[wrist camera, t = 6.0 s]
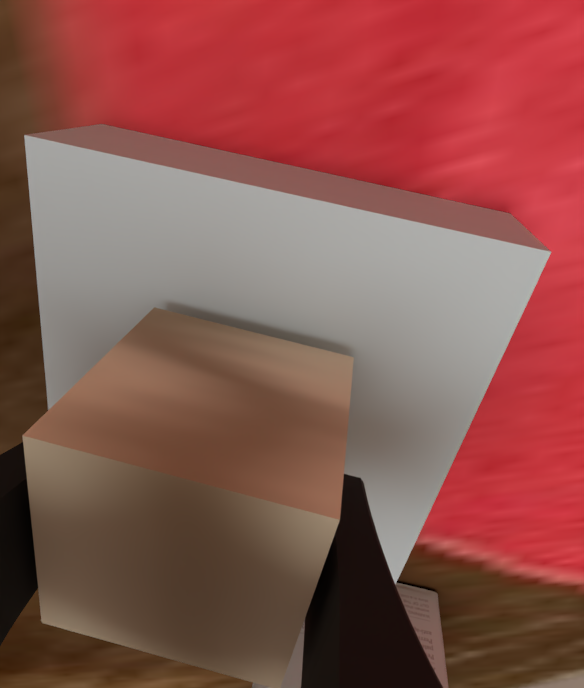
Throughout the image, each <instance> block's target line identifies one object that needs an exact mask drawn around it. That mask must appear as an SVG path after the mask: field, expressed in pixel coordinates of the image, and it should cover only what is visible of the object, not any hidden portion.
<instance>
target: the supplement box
mask: <svg viewBox="0 0 584 688" xmlns="http://www.w3.org/2000/svg"><path fill="white" fill-rule="evenodd" d="M395 585H396V588H397V590H398V593H399V595H400V598H401V600H402V602H403V605H404V607H405V610H406V612H407V614H408V617H409V619H410V621H411V623H412V626H413V628H414V630H415V632H416V634H417V637H418V639H419V641H420V643H421V645H422V647H423V649H424V651H425V653H426V655H427V657H428V659H429V661H430V663H431V665H432V667H433V669H434V671H435V673H436V675H437V677H438V679H439V681H440V683H441V684H442V686H443V688H448V680H447V671H446V663H445V654H444V645H443V637H442V629H441V621H440V613H439V604H438V594H437V593H436V592H434V591H430V590H426V589H423V588H418V587H414V586H410V585H405V584H401V583H396V584H395ZM304 629H305V619H304V622H303V625H302V628H301V631H300V634H299V636H298V639H297V642H296V645H295V648H294V650H293V653H292V656H291V659H290V662H289V664H288V667H287V670H286V673H285V676H284V678H283V681H282V684H281V687H280V688H301V679H302V663H303V646H304ZM252 688H271V687H268V686H264V685H261V684H257V683H253V686H252Z"/></svg>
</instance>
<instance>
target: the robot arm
mask: <svg viewBox="0 0 584 688" xmlns="http://www.w3.org/2000/svg"><path fill="white" fill-rule="evenodd" d="M37 588H38V581H37V572H36V562H35V552H34V543H33V533H32V523H31V514H30V504H29V494H28V485H27V475H26V465H25V455H24V446H23V442H22V443H21V444H19V445H17V446H15V447H14V448H12V449H10V450H8V451H7V452H5V453H3V454H1V455H0V645H1V644H2V642H3V640H4V638H5V637H6V635H7V633H8V632H9V630H10V628H11V627H12V625H13V624H14V622H15V621H16V619H17V618H18V616H19V615H20V613H21V611H22V610H23V609H24V607H25V606H26V604H27V603H28V601H29V600H30V598H31V597H32V596H33V594H34V593H35V591H36V590H37ZM301 688H443V686H442V684H441V683H440V681H439V679H438V677H437V675H436V673H435V671H434V669H433V667H432V665H431V663H430V661H429V659H428V657H427V655H426V653H425V651H424V649H423V647H422V645H421V643H420V641H419V639H418V637H417V634H416V632H415V630H414V628H413V626H412V623H411V621H410V619H409V617H408V614H407V612H406V610H405V607H404V605H403V602H402V600H401V598H400V595H399V593H398V590H397V588H396V585H395V583H394V580H393V578H392V575H391V572H390V569H389V567H388V564H387V561H386V558H385V555H384V553H383V550H382V547H381V544H380V541H379V538H378V535H377V532H376V528H375V525H374V522H373V518H372V515H371V511H370V507H369V504H368V500H367V495H366V491H365V486H364V482H363V481H362V479H361V478H359V477H355V476H351V475H347V474H344V478H343V490H342V501H341V513H340V521H339V524H338V527H337V529H336V532H335V535H334V538H333V541H332V544H331V546H330V549H329V552H328V555H327V558H326V560H325V563H324V566H323V569H322V572H321V574H320V577H319V580H318V583H317V586H316V589H315V591H314V594H313V597H312V600H311V603H310V605H309V608H308V611H307V614H306V617H305V629H304V646H303V663H302V679H301Z"/></svg>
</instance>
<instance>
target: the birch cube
mask: <svg viewBox="0 0 584 688" xmlns="http://www.w3.org/2000/svg"><path fill="white" fill-rule="evenodd" d="M353 361H354V357H351V356H347V355H343V354H339V353H335V352H331V351H327V350H323V349H319V348H315V347H311V346H307V345H303V344H299V343H295V342H291V341H287V340H283V339H279V338H275V337H271V336H267V335H263V334H259V333H255V332H251V331H247V330H243V329H239V328H235V327H231V326H227V325H223V324H219V323H215V322H211V321H207V320H203V319H199V318H195V317H191V316H187V315H183V314H179V313H175V312H171V311H167V310H163V309H159V308H155V307H154V308H153V309H152V310H151V311H150V312H149V313H148V314H147V315H146V316H145V317H144V318H143V319H142V320H141V321H140V322H139V323H138V324H137V325H136V326H135V327H134V328H133V329H132V330H131V331H129V332H128V333H127V334H126V335H125V336H124V337H123V338H122V339H121V340H120V341H119V342H118V343H117V344H116V345H115V346H114V347H113V348H112V349H111V350H110V351H109V352H108V353H107V354H106V355H105V356H104V357H103V358H102V359H101V360H100V361H99V362H98V363H97V364H96V365H95V366H94V367H92V368H91V369H90V370H89V371H88V372H87V373H86V374H85V375H84V376H83V377H82V378H81V379H80V380H79V381H78V382H77V383H76V384H75V385H74V386H73V387H72V388H71V389H70V390H69V391H68V392H67V393H66V394H65V395H64V396H63V397H62V398H61V399H60V400H59V401H58V402H57V403H55V404H54V405H53V406H52V407H51V408H50V409H49V410H48V411H47V412H46V413H45V414H44V415H43V416H42V417H41V418H40V419H39V420H38V421H37V422H36V423H35V424H34V425H33V426H32V427H31V428H30V429H29V430H28V431H27V432H26V433H25V434H24V435H23V446H24V455H25V465H26V475H27V485H28V494H29V504H30V514H31V523H32V533H33V543H34V552H35V562H36V572H37V581H38V591H39V601H40V610H41V620H42V623H45V624H48V625H52V626H55V627H59V628H62V629H66V630H70V631H73V632H77V633H80V634H84V635H87V636H91V637H94V638H98V639H101V640H105V641H108V642H112V643H116V644H119V645H123V646H126V647H130V648H133V649H137V650H140V651H144V652H147V653H151V654H154V655H158V656H161V657H165V658H169V659H172V660H176V661H179V662H183V663H186V664H190V665H193V666H197V667H200V668H204V669H207V670H211V671H215V672H218V673H222V674H225V675H229V676H232V677H236V678H239V679H243V680H246V681H250V682H253V683H257V684H261V685H264V686H268V687H271V688H280V687H281V684H282V681H283V678H284V676H285V673H286V670H287V667H288V664H289V662H290V659H291V656H292V653H293V650H294V648H295V645H296V642H297V639H298V636H299V634H300V631H301V628H302V625H303V622H304V619H305V617H306V614H307V611H308V608H309V605H310V603H311V600H312V597H313V594H314V591H315V589H316V586H317V583H318V580H319V577H320V574H321V572H322V569H323V566H324V563H325V560H326V558H327V555H328V552H329V549H330V546H331V544H332V541H333V538H334V535H335V532H336V529H337V527H338V524H339V521H340V513H341V501H342V490H343V478H344V466H345V455H346V443H347V431H348V419H349V408H350V396H351V384H352V373H353Z"/></svg>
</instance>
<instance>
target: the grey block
mask: <svg viewBox="0 0 584 688" xmlns="http://www.w3.org/2000/svg"><path fill="white" fill-rule="evenodd" d="M24 137H25V149H26V160H27V172H28V183H29V195H30V206H31V218H32V229H33V240H34V252H35V263H36V275H37V286H38V298H39V309H40V321H41V332H42V344H43V355H44V367H45V378H46V389H47V401H48V410H49V409H50V408H51V407H52V406H53V405H54V404H55V403H57V402H58V401H59V400H60V399H61V398H62V397H63V396H64V395H65V394H66V393H67V392H68V391H69V390H70V389H71V388H72V387H73V386H74V385H75V384H76V383H77V382H78V381H79V380H80V379H81V378H82V377H83V376H84V375H85V374H86V373H87V372H88V371H89V370H90V369H91V368H92V367H94V366H95V365H96V364H97V363H98V362H99V361H100V360H101V359H102V358H103V357H104V356H105V355H106V354H107V353H108V352H109V351H110V350H111V349H112V348H113V347H114V346H115V345H116V344H117V343H118V342H119V341H120V340H121V339H122V338H123V337H124V336H125V335H126V334H127V333H128V332H129V331H131V330H132V329H133V328H134V327H135V326H136V325H137V324H138V323H139V322H140V321H141V320H142V319H143V318H144V317H145V316H146V315H147V314H148V313H149V312H150V311H151V310H152V309H153V308H154V307H155V308H159V309H163V310H167V311H171V312H175V313H179V314H183V315H187V316H191V317H195V318H199V319H203V320H207V321H211V322H215V323H219V324H223V325H227V326H231V327H235V328H239V329H243V330H247V331H251V332H255V333H259V334H263V335H267V336H271V337H275V338H279V339H283V340H287V341H291V342H295V343H299V344H303V345H307V346H311V347H315V348H319V349H323V350H327V351H331V352H335V353H339V354H343V355H347V356H351V357H354V361H353V373H352V384H351V396H350V408H349V419H348V431H347V443H346V455H345V466H344V474H347V475H351V476H355V477H359V478H361V479H362V481H363V482H364V486H365V491H366V495H367V500H368V504H369V507H370V511H371V515H372V518H373V522H374V525H375V528H376V532H377V535H378V538H379V541H380V544H381V547H382V550H383V553H384V555H385V558H386V561H387V564H388V567H389V569H390V572H391V575H392V578H393V580H394V583H395V584H396V582H397V580H398V578H399V576H400V574H401V572H402V569H403V567H404V565H405V563H406V561H407V559H408V557H409V555H410V552H411V550H412V548H413V546H414V544H415V542H416V540H417V537H418V535H419V533H420V531H421V529H422V527H423V525H424V523H425V520H426V518H427V516H428V514H429V512H430V510H431V508H432V505H433V503H434V501H435V499H436V497H437V495H438V493H439V491H440V488H441V486H442V484H443V482H444V480H445V478H446V476H447V474H448V471H449V469H450V467H451V465H452V463H453V461H454V459H455V456H456V454H457V452H458V450H459V448H460V446H461V444H462V442H463V439H464V437H465V435H466V433H467V431H468V429H469V427H470V424H471V422H472V420H473V418H474V416H475V414H476V412H477V410H478V407H479V405H480V403H481V401H482V399H483V397H484V395H485V392H486V390H487V388H488V386H489V384H490V382H491V380H492V378H493V375H494V373H495V371H496V369H497V367H498V365H499V363H500V360H501V358H502V356H503V354H504V352H505V350H506V348H507V346H508V343H509V341H510V339H511V337H512V335H513V333H514V331H515V328H516V326H517V324H518V322H519V320H520V318H521V316H522V314H523V311H524V309H525V307H526V305H527V303H528V301H529V299H530V296H531V294H532V292H533V290H534V288H535V286H536V284H537V282H538V279H539V277H540V275H541V273H542V271H543V269H544V267H545V264H546V262H547V260H548V258H549V256H550V254H551V251H550V250H549V249H548V248H547V247H546V246H544V245H543V244H542V243H541V242H540V241H539V240H538V239H537V238H536V237H535V236H534V235H533V234H532V233H531V232H530V231H528V230H527V229H526V228H525V227H524V226H523V225H522V224H521V223H520V222H519V221H518V220H517V219H516V218H515V217H513V216H512V215H511V214H510V213H506V212H501V211H497V210H492V209H488V208H483V207H479V206H474V205H470V204H465V203H460V202H456V201H451V200H447V199H442V198H438V197H433V196H428V195H424V194H419V193H415V192H410V191H406V190H401V189H397V188H392V187H387V186H383V185H378V184H374V183H369V182H365V181H360V180H356V179H351V178H346V177H342V176H337V175H333V174H328V173H324V172H319V171H314V170H310V169H305V168H301V167H296V166H292V165H287V164H283V163H278V162H273V161H269V160H264V159H260V158H255V157H251V156H246V155H241V154H237V153H232V152H228V151H223V150H219V149H214V148H210V147H205V146H200V145H196V144H191V143H187V142H182V141H178V140H173V139H168V138H164V137H159V136H155V135H150V134H146V133H141V132H137V131H132V130H127V129H123V128H118V127H114V126H109V125H105V124H98V125H91V126H84V127H77V128H70V129H63V130H56V131H49V132H42V133H34V134H27V135H24Z"/></svg>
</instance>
